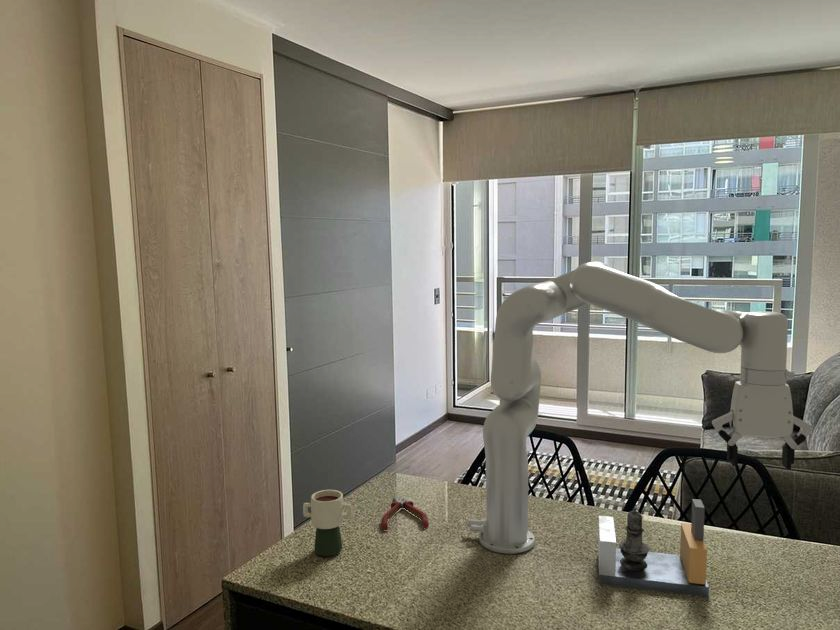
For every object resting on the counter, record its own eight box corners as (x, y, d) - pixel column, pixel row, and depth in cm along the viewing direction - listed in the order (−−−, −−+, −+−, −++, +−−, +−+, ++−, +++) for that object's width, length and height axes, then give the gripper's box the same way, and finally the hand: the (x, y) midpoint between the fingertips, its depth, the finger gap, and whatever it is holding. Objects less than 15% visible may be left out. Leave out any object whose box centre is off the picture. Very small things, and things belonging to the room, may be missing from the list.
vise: (599, 584, 122) (600, 540, 121) (597, 555, 134) (598, 515, 133) (708, 597, 117) (710, 552, 116) (697, 566, 128) (698, 524, 128)
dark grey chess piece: (632, 573, 122) (634, 515, 121) (612, 560, 127) (613, 504, 126) (655, 567, 124) (656, 510, 123) (634, 554, 130) (635, 499, 128)
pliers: (421, 497, 167) (420, 488, 167) (429, 531, 147) (429, 520, 147) (379, 500, 166) (378, 491, 166) (382, 534, 146) (381, 523, 146)
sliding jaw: (688, 582, 118) (691, 513, 117) (680, 555, 129) (682, 491, 127) (705, 584, 117) (708, 515, 116) (695, 556, 128) (697, 493, 126)
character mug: (355, 544, 140) (354, 489, 139) (349, 560, 133) (348, 502, 132) (308, 543, 141) (306, 488, 139) (300, 559, 134) (298, 501, 132)
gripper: (807, 374, 117) (803, 462, 119) (708, 371, 122) (706, 456, 124) (822, 382, 110) (817, 475, 112) (716, 379, 115) (714, 469, 116)
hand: (759, 465), depth 118 cm, fingers open, 8 cm apart
